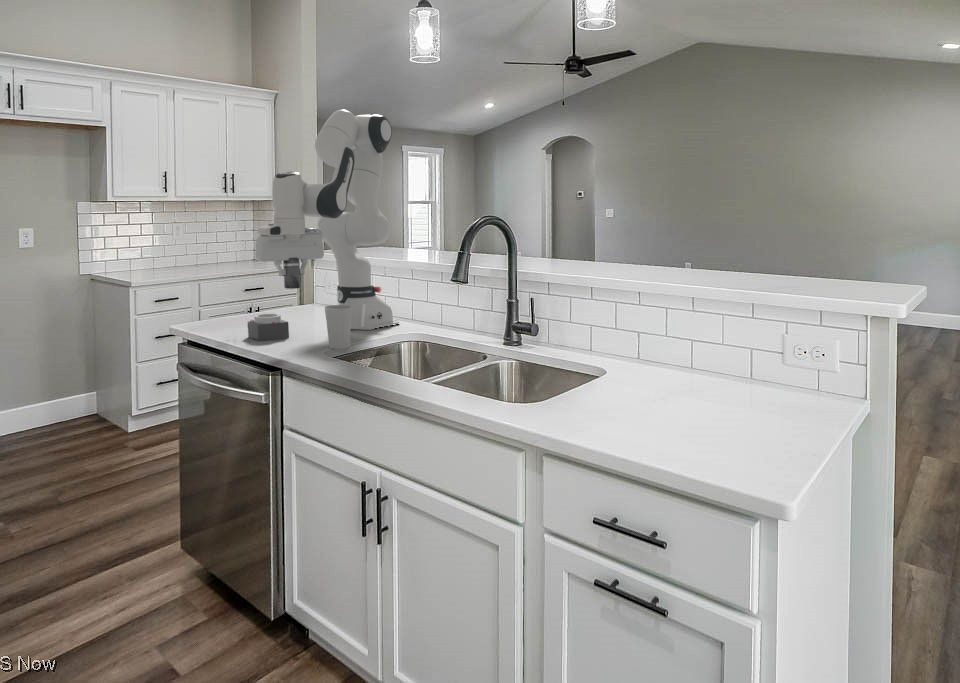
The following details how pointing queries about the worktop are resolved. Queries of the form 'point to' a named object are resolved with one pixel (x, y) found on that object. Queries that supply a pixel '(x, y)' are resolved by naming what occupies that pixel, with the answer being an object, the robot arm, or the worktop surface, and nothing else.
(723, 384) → the worktop surface
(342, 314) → the cup
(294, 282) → the lens
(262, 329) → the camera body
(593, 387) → the worktop surface
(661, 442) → the worktop surface
